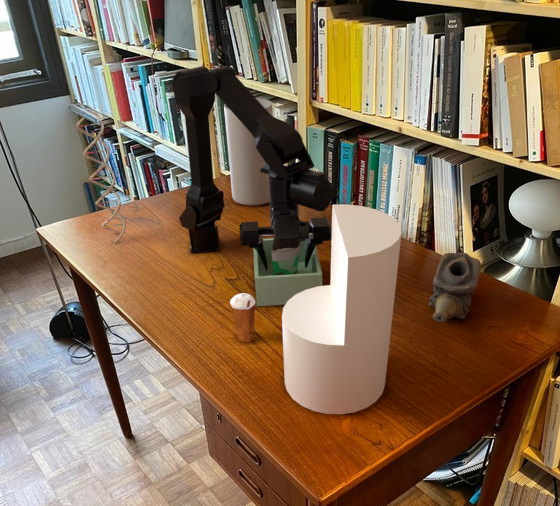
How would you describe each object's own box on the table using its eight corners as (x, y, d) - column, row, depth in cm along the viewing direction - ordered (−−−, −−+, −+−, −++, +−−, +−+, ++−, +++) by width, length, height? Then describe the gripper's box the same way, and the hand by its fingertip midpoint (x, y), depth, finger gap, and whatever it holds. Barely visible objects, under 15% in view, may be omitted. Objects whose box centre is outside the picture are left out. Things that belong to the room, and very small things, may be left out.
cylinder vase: (228, 206, 157) (218, 110, 141) (238, 189, 167) (230, 98, 151) (271, 207, 155) (267, 111, 140) (279, 190, 165) (275, 98, 149)
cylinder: (375, 347, 104) (388, 201, 86) (394, 411, 90) (414, 253, 73) (282, 352, 104) (276, 207, 86) (287, 417, 90) (281, 260, 73)
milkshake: (242, 349, 105) (237, 303, 99) (230, 335, 109) (225, 290, 102) (263, 342, 106) (260, 296, 100) (251, 328, 110) (247, 283, 104)
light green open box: (256, 306, 116) (254, 278, 112) (254, 265, 130) (253, 239, 126) (322, 302, 117) (322, 274, 112) (313, 262, 130) (313, 235, 126)
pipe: (473, 291, 118) (482, 248, 111) (474, 353, 102) (485, 306, 95) (429, 287, 120) (436, 244, 113) (424, 347, 103) (431, 300, 97)
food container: (302, 294, 118) (302, 251, 112) (273, 295, 118) (271, 252, 112) (302, 266, 128) (301, 224, 121) (275, 266, 128) (273, 225, 122)
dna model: (106, 232, 147) (76, 110, 128) (131, 231, 147) (104, 108, 128) (101, 244, 141) (68, 118, 122) (126, 243, 141) (98, 116, 122)
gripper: (236, 217, 105) (243, 290, 115) (336, 211, 105) (334, 284, 115) (236, 194, 113) (243, 263, 123) (328, 189, 114) (327, 258, 124)
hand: (286, 268), depth 121 cm, fingers open, 8 cm apart
